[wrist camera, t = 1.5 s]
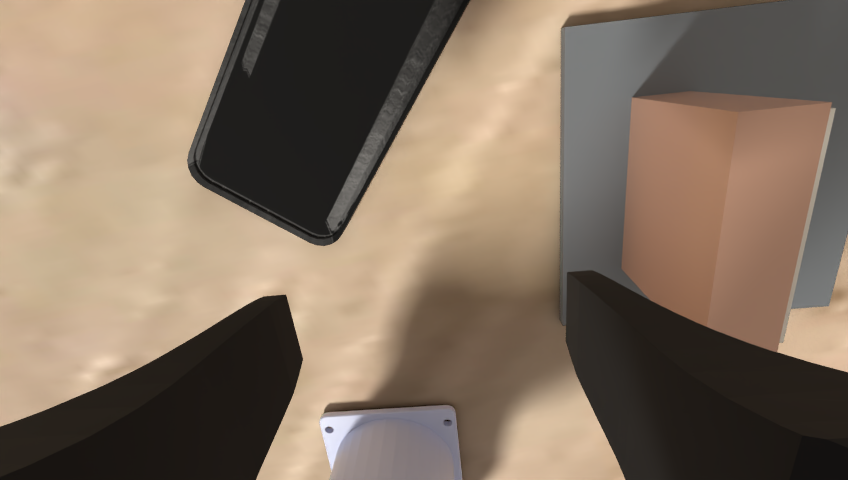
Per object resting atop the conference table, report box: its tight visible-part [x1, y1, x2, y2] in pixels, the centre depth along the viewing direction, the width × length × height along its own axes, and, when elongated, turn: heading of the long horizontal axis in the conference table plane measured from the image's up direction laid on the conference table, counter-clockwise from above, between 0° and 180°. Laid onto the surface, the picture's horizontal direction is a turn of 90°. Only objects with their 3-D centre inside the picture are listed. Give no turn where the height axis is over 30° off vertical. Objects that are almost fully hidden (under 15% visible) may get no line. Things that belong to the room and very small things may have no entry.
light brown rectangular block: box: [621, 91, 836, 352], centre depth 16 cm, size 8×3×7 cm, turn 6°
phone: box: [187, 0, 470, 246], centre depth 19 cm, size 8×1×15 cm
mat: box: [560, 0, 848, 326], centre depth 20 cm, size 14×13×1 cm
